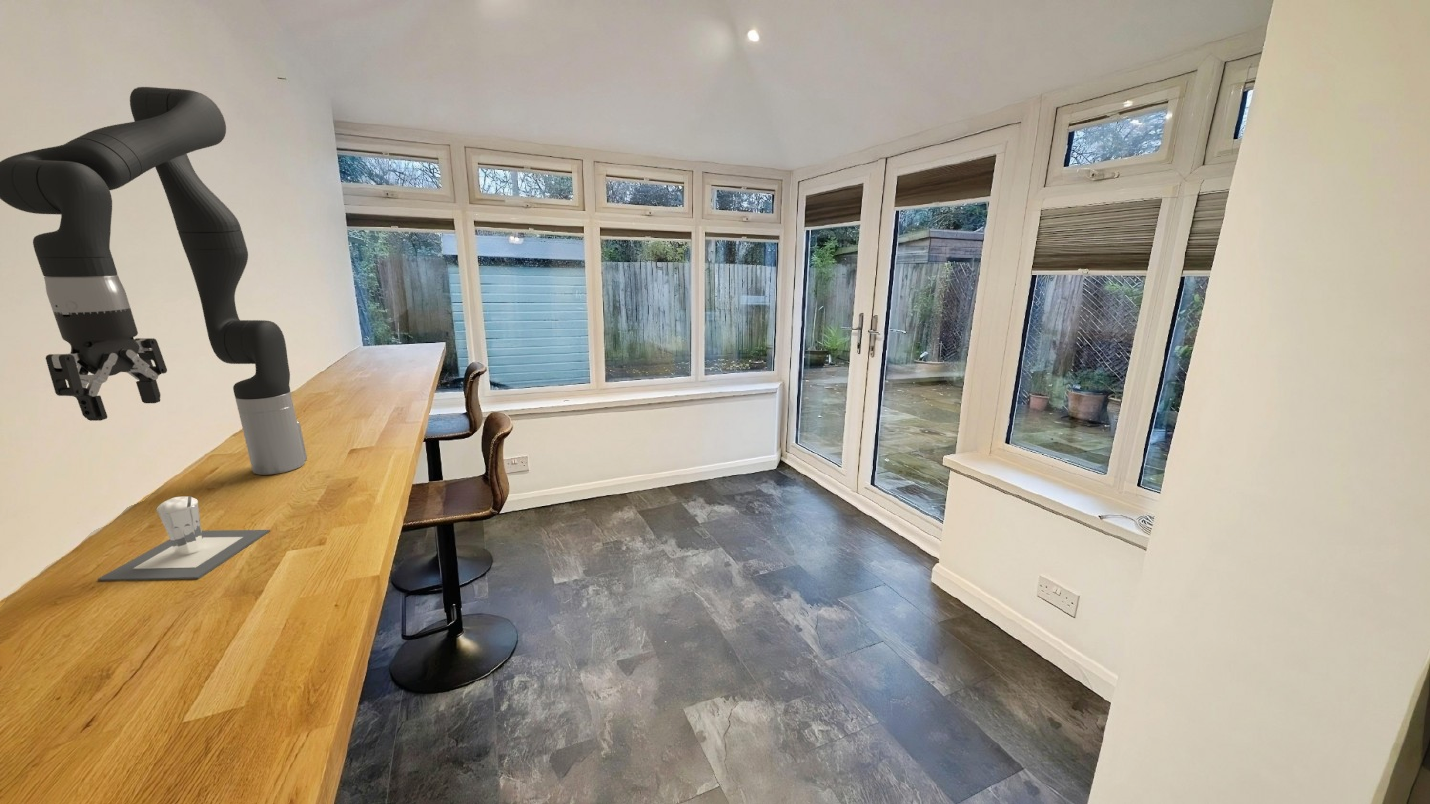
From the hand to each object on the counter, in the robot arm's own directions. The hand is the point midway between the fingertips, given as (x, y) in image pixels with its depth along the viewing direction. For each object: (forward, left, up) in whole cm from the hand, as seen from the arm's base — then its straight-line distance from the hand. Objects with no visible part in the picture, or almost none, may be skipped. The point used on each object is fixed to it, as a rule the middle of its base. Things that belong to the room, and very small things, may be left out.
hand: (126, 410), depth 81 cm
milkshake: (+4, +8, -23) cm, 24 cm away
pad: (+5, +8, -23) cm, 25 cm away
